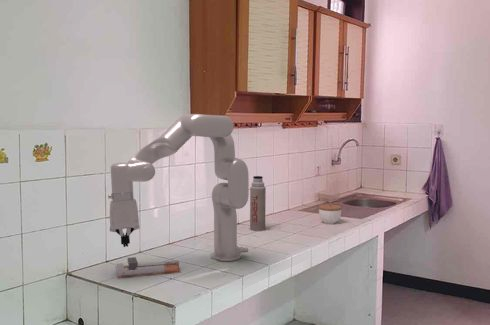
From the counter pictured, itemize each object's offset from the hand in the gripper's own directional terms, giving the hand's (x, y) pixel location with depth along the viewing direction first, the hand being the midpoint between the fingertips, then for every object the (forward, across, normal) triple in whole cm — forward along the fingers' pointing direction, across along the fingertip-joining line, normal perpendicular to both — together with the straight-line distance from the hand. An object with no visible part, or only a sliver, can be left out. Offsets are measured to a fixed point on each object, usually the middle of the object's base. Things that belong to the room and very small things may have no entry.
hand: (125, 245), depth 184 cm
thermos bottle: (+15, +71, +58) cm, 93 cm away
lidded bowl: (+16, +115, +62) cm, 132 cm away
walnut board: (+12, +8, +2) cm, 15 cm away
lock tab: (+7, +2, 0) cm, 8 cm away
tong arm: (+11, +10, +1) cm, 15 cm away
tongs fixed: (+11, +7, 0) cm, 13 cm away
